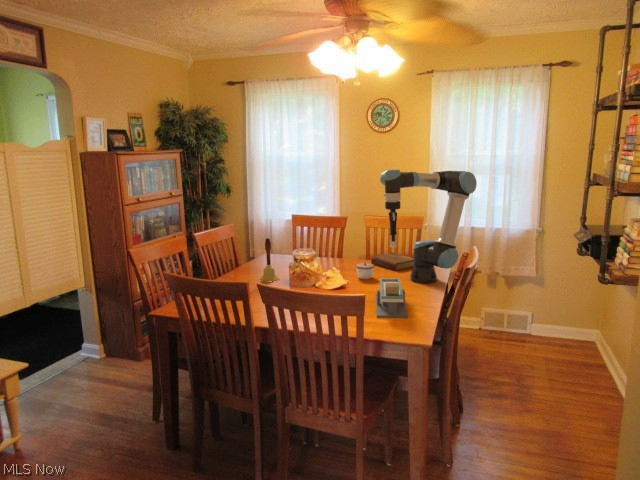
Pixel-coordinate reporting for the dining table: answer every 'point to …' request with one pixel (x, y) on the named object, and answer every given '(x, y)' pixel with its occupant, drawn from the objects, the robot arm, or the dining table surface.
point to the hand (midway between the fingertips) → (393, 247)
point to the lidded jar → (365, 270)
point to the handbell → (268, 265)
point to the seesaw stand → (390, 307)
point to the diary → (393, 261)
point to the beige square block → (391, 289)
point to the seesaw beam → (390, 298)
